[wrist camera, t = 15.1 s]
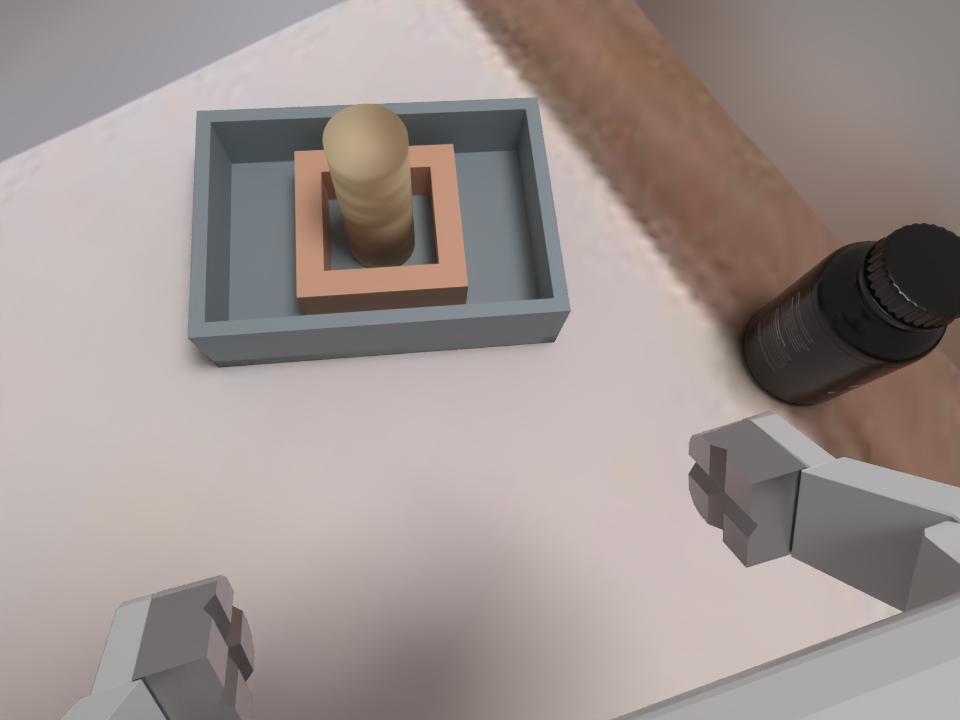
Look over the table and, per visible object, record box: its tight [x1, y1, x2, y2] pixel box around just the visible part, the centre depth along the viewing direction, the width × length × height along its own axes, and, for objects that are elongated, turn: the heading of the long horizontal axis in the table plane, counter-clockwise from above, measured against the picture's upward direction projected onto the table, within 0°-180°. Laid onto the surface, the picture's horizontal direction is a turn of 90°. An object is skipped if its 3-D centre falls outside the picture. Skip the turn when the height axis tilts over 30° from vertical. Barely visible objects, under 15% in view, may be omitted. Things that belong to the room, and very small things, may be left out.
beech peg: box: [323, 104, 415, 268], centre depth 35 cm, size 4×4×10 cm
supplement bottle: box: [744, 223, 960, 405], centre depth 35 cm, size 7×7×12 cm
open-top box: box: [188, 98, 571, 367], centre depth 38 cm, size 20×14×5 cm
